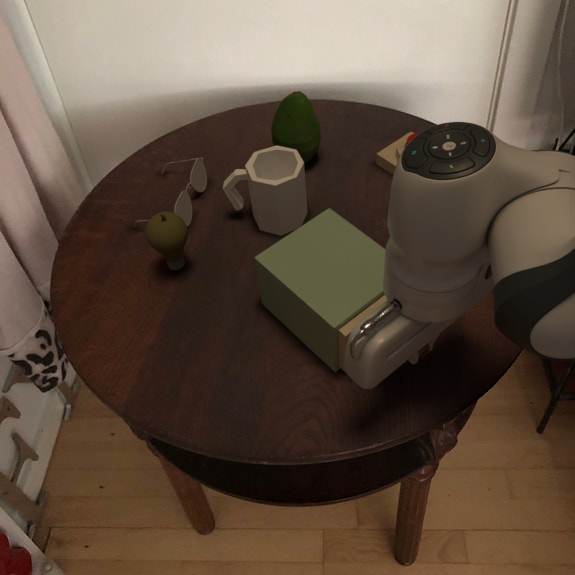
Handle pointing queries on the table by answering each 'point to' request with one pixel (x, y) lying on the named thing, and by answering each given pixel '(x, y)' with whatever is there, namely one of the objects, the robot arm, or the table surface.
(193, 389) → the table surface
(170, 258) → the light bulb
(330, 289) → the cabinet
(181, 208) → the sunglasses
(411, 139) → the button
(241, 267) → the table surface
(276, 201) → the mug
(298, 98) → the fruit
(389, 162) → the button block
